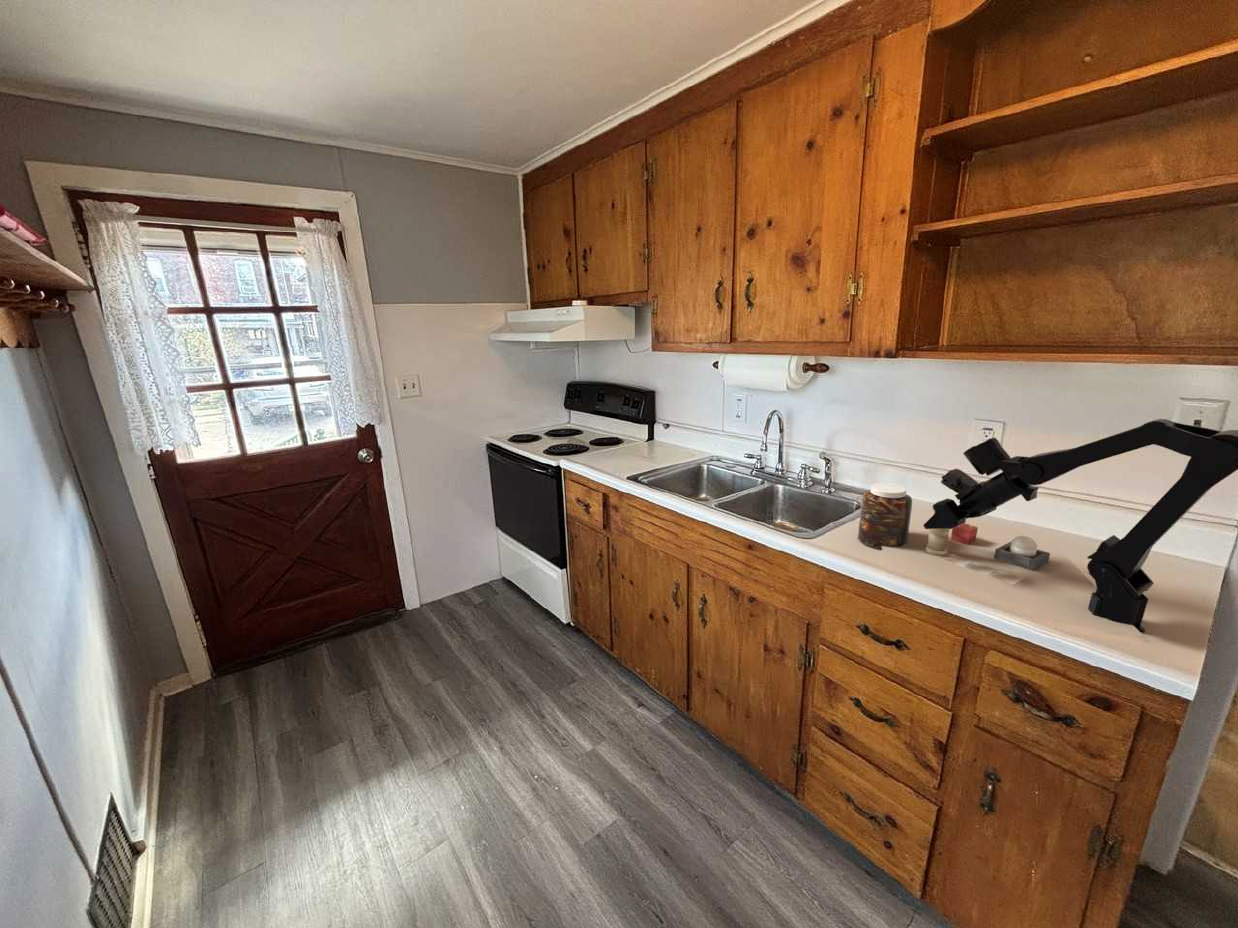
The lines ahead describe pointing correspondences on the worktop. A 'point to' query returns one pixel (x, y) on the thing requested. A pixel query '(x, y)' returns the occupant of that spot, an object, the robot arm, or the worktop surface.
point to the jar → (885, 516)
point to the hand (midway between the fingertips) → (935, 522)
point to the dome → (1023, 546)
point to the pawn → (937, 541)
